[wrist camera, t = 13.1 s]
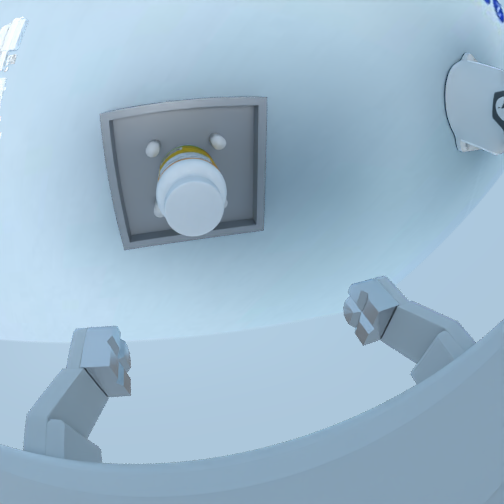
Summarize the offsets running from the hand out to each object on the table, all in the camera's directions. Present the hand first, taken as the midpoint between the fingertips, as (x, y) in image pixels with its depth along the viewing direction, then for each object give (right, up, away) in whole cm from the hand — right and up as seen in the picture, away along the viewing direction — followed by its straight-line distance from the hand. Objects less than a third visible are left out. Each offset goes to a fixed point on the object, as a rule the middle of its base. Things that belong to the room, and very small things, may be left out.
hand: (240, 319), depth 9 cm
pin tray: (-6, +11, +17) cm, 21 cm away
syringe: (-26, +18, +6) cm, 33 cm away
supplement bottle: (-6, +10, +16) cm, 20 cm away
